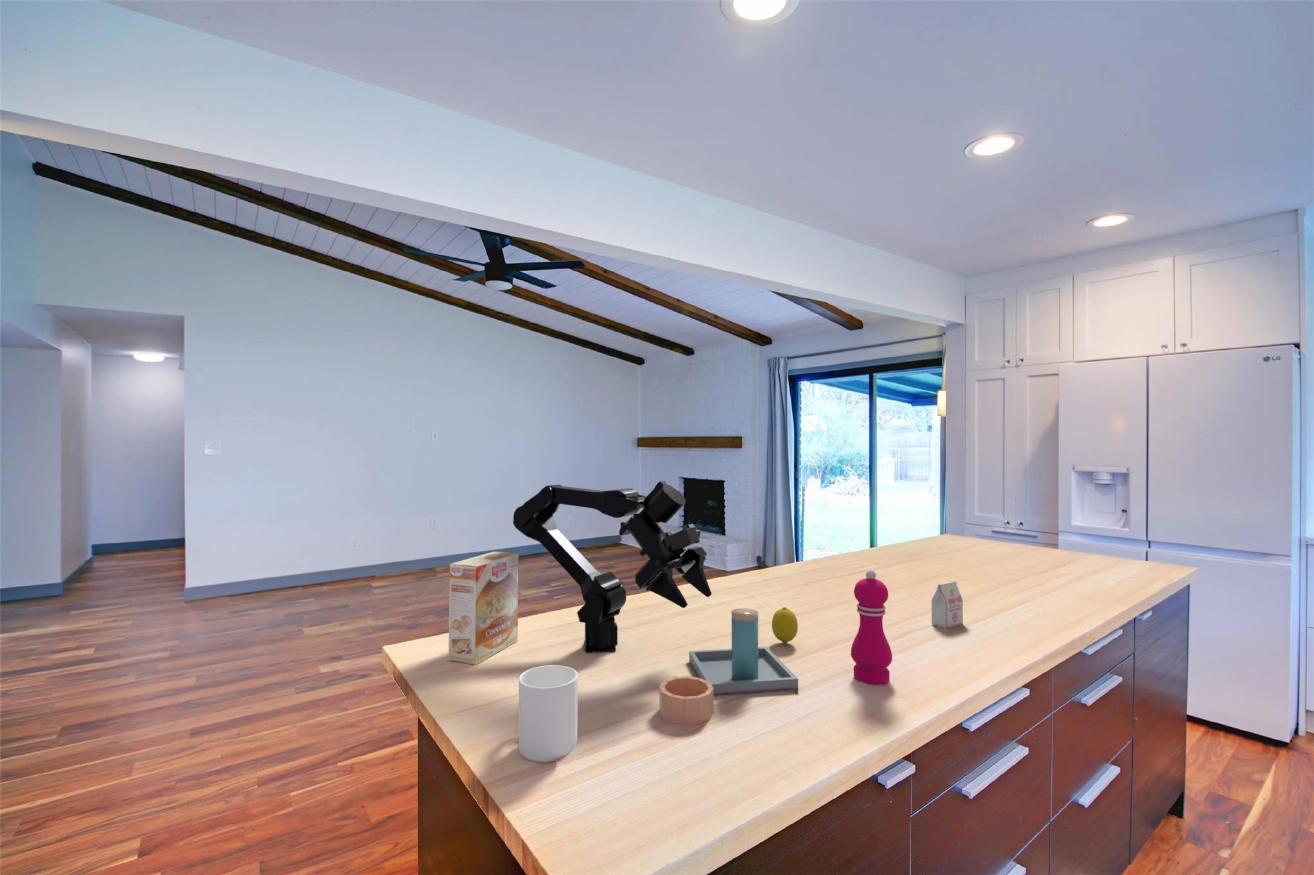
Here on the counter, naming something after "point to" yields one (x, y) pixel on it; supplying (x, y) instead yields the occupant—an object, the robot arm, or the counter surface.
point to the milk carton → (947, 606)
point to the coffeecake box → (483, 606)
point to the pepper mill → (871, 632)
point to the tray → (719, 673)
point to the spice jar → (744, 644)
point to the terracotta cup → (686, 700)
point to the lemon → (784, 625)
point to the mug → (548, 712)
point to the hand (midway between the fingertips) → (698, 601)
